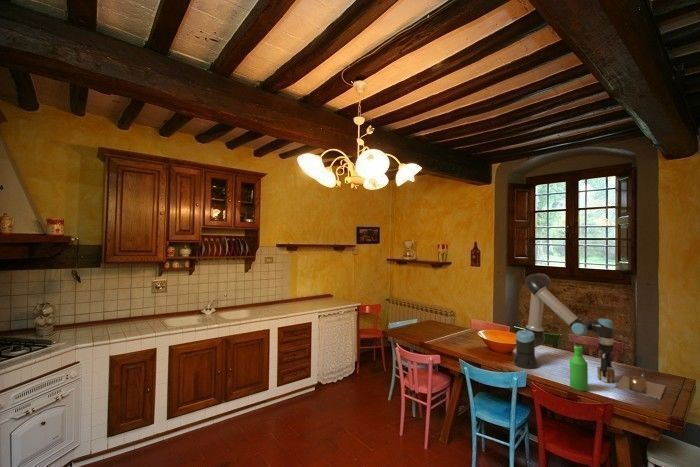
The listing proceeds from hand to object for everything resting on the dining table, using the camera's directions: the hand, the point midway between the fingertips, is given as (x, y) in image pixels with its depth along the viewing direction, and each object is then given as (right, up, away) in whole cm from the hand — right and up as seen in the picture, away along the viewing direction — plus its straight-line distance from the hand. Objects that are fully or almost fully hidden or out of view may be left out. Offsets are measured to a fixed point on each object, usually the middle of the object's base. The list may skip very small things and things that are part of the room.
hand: (606, 379), depth 210 cm
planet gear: (0, 0, 0) cm, 0 cm away
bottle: (-26, 0, -12) cm, 28 cm away
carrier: (+13, 0, -10) cm, 16 cm away
